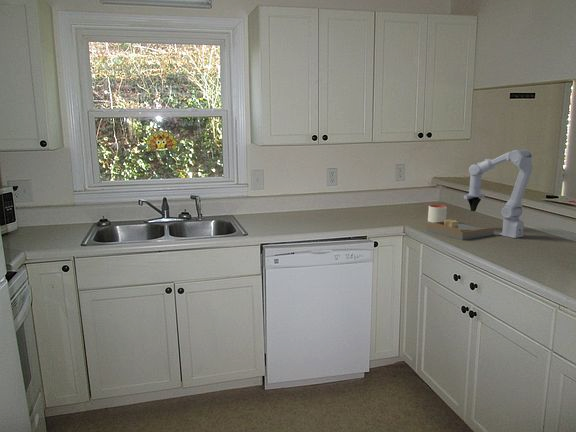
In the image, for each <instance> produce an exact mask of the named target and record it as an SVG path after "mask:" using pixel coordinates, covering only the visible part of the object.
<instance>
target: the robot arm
mask: <svg viewBox="0 0 576 432" xmlns="http://www.w3.org/2000/svg"><path fill="white" fill-rule="evenodd" d="M532 158H533V154H532V153H531V151H529V150H528V149H513V150H512V151H508V152H506V153H504V154H502V155H500V156H497V157H495V158H494V159H492V158H484V160H483V161H481V162H480V161H478V162H477V164H471V165H470V166H468V167H469V168H468V173H469V175H470V177H469V190H468V193H467V194H464V195H463V200H467V202H468V204H469V207H470V208H469V209H470V211H471V212H476V210H477V208H478V205H479V203H480V202H481V201H482V199H481V198H485V195H486V194H485V193H481V189H482V188H481V187H482V178H483V174H484V173H486V172H489V171H491V170H493V169H495V167H496V166H497V165H500V164H502V163H505V162H511V163H513V164H514V166H516V167H517V168H518V170H519V171H518V174H517V176H516V177H517V178H516V180H515V184H514V186H513V188H512V192H511V194H510V195H511V196H510V198H509V199H508V201H507V202H506V203H505V205H504V206H503V208H502V209H501V212H500V213H501V216H502V217H503V220H502V231H501V232H499V233H498V235H500V236H503V237H507V238H512V239H516V238H517V239H518V238H524V228H525V222H524V221H522V220H520V216H522V214H523V202H522V201H523V198H524V195H525V192H526V189H527V186H528V184H529V181H530V177H531V175H532V171H533V170H534V169H533V167H534V166H533V161H532V160H533V159H532Z"/></svg>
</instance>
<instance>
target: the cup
mask: <svg viewBox="0 0 576 432" xmlns="http://www.w3.org/2000/svg"><path fill="white" fill-rule="evenodd" d="M447 209H448V207H447V206H446V205H442V204H431V205H428V212H427V223H428V222H440V221H444V220H447V212H448V210H447Z"/></svg>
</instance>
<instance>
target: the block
mask: <svg viewBox="0 0 576 432" xmlns="http://www.w3.org/2000/svg"><path fill="white" fill-rule="evenodd" d="M458 223H460V222H459V221H455V219H446V220H444V225H445V226H450V227H454V228H458Z"/></svg>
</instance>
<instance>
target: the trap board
mask: <svg viewBox="0 0 576 432" xmlns="http://www.w3.org/2000/svg"><path fill="white" fill-rule="evenodd" d="M454 220H455V221H459V218H457V219H455V218H454ZM425 232H430V233H433V234H436V235H437V234H438V235H441V236H445V237H449V238H453V239H457V240H461V241H464V240H471V239H478V238H481V237H489V236H493V235H495V226H491V227H483V228H482V227H477V226H472V225H469V224H464V223H460V222H458V228H454V227H450V226H445V225H444V221H440V222H428V221H427V222H426V225H425Z"/></svg>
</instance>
